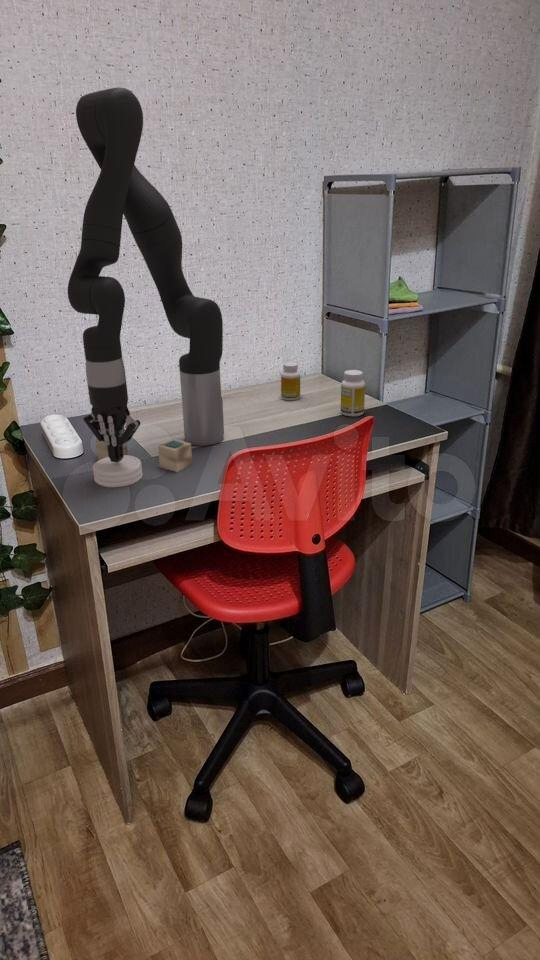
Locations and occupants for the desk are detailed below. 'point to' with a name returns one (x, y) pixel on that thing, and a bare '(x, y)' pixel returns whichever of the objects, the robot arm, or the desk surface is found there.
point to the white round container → (117, 471)
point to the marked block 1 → (103, 449)
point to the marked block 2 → (175, 455)
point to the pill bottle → (352, 393)
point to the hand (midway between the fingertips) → (116, 460)
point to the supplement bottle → (290, 381)
